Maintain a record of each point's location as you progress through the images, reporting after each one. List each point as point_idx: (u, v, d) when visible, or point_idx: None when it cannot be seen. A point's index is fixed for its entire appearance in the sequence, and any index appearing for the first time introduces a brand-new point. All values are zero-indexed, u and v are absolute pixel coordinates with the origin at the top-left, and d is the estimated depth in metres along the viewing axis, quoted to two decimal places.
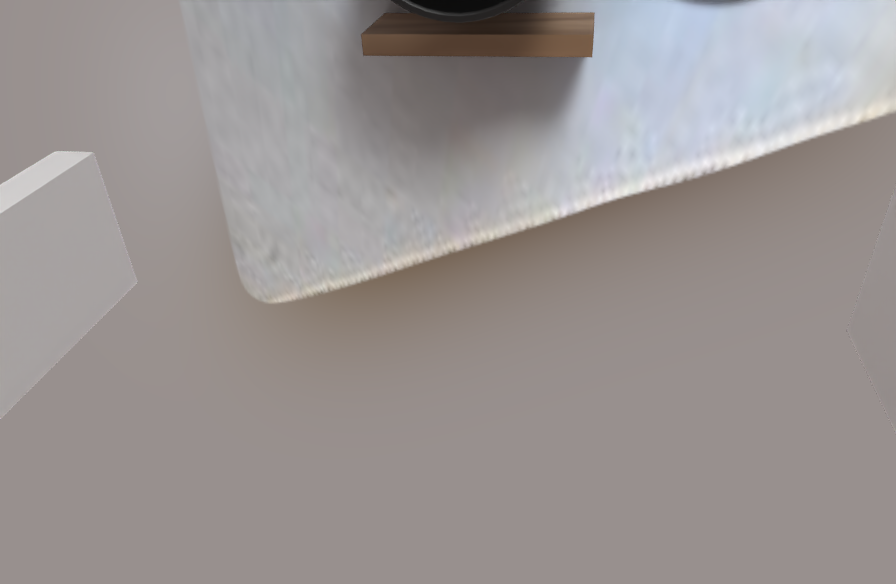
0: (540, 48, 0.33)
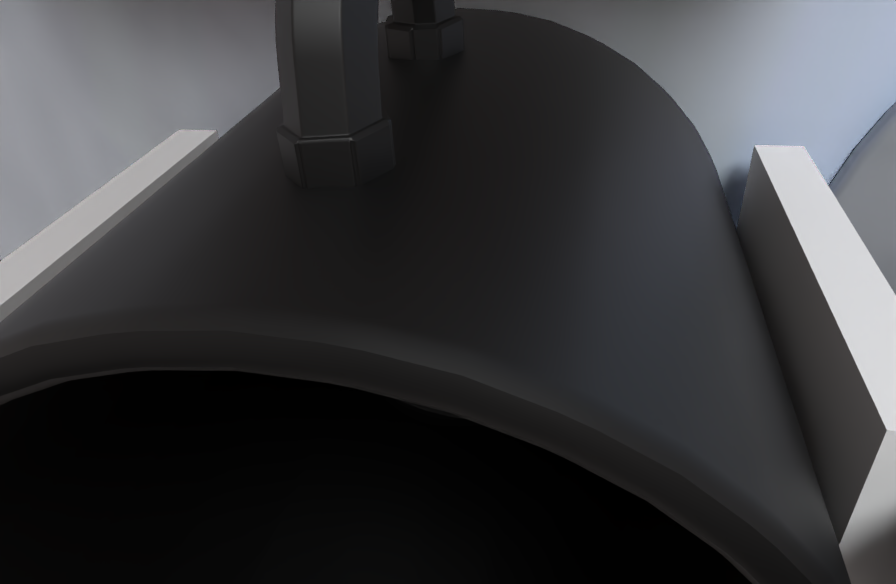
0: None
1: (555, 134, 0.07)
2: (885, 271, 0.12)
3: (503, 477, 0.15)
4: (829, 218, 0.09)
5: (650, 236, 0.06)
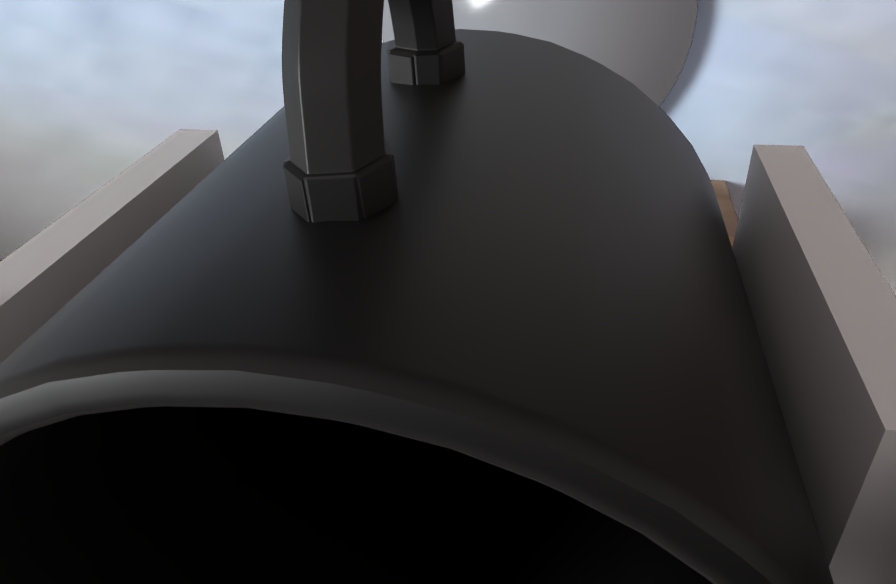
0: None
1: (553, 162, 0.08)
2: None
3: (503, 487, 0.15)
4: (828, 218, 0.09)
5: (647, 265, 0.07)
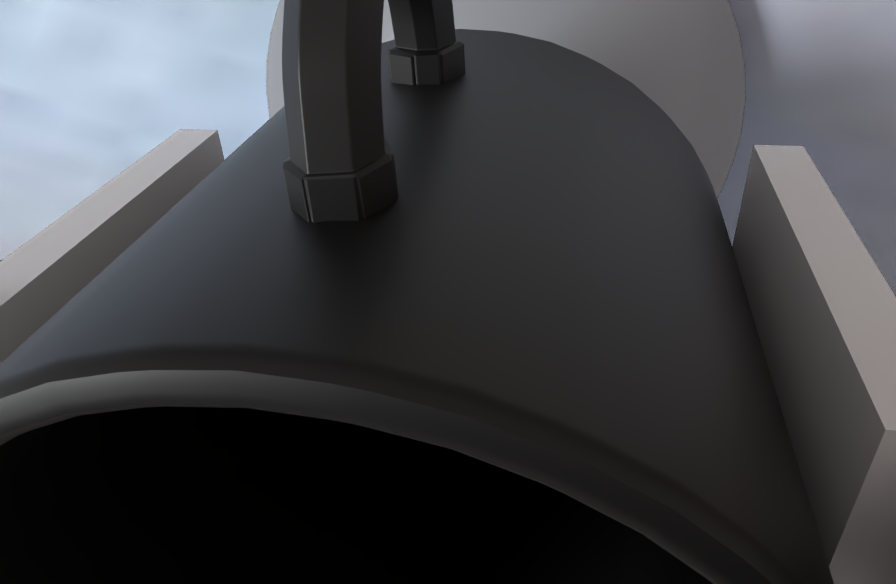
0: None
1: (554, 162, 0.08)
2: None
3: (503, 488, 0.15)
4: (828, 218, 0.09)
5: (646, 265, 0.07)
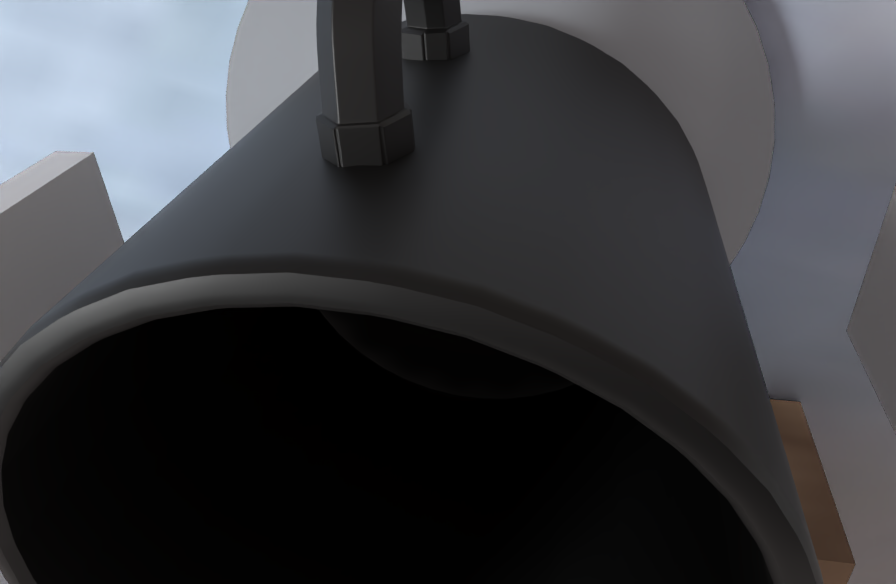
0: None
1: (550, 124, 0.08)
2: None
3: (504, 448, 0.16)
4: None
5: (631, 209, 0.08)
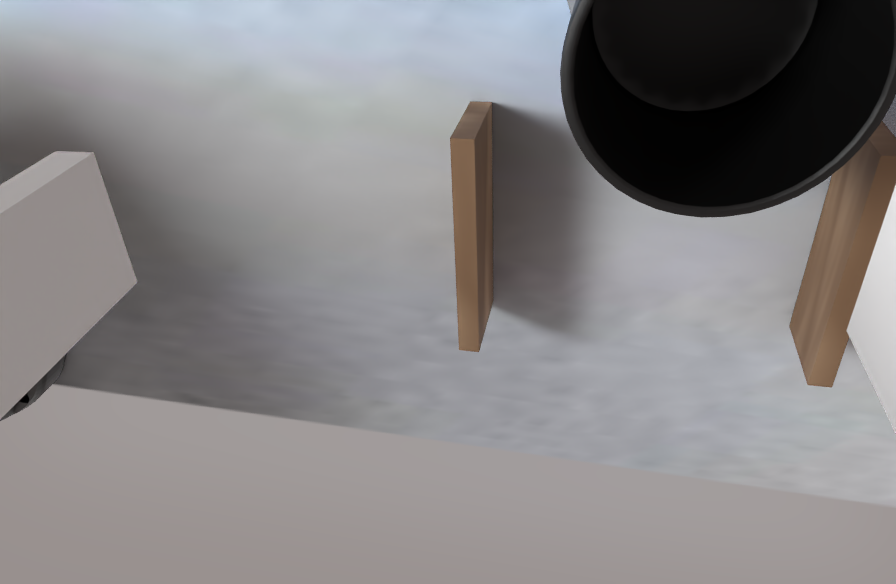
0: (879, 215, 0.27)
1: None
2: None
3: (708, 126, 0.28)
4: None
5: None
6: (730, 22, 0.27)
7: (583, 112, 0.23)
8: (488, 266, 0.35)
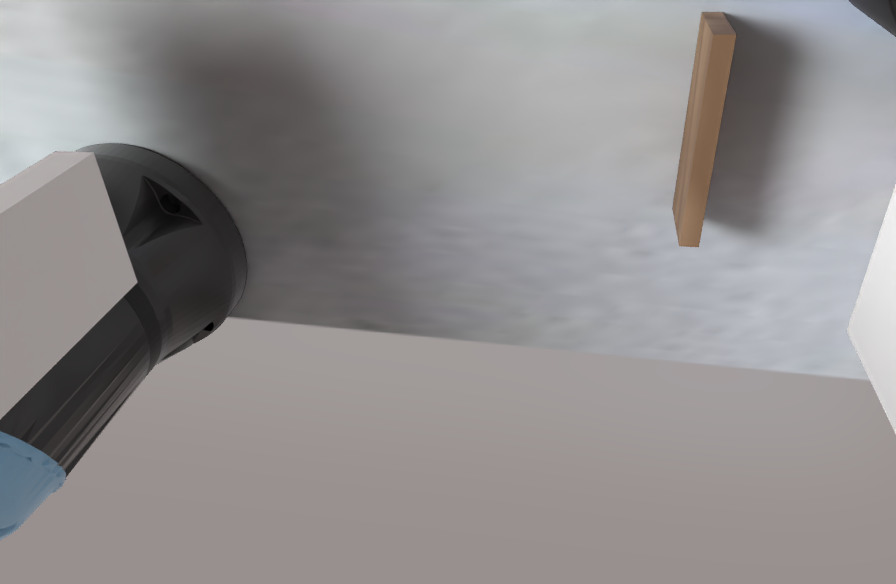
0: None
1: None
2: None
3: None
4: None
5: None
6: None
7: None
8: None
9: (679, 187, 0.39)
